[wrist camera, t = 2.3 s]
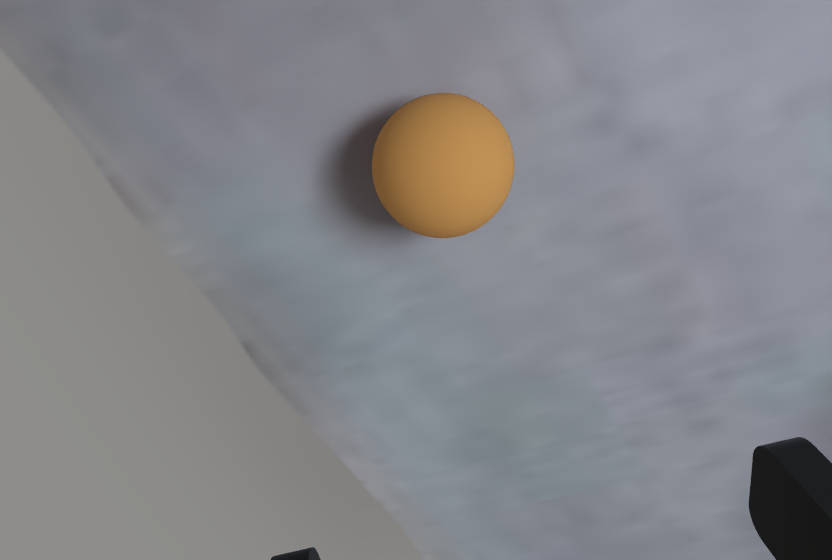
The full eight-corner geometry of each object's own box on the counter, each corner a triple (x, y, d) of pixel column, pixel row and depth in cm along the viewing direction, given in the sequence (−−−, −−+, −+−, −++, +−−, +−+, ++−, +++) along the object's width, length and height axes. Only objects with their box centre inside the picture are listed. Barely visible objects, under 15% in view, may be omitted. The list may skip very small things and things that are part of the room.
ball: (517, 106, 28) (556, 140, 22) (469, 222, 30) (493, 278, 25) (394, 62, 26) (403, 86, 21) (353, 187, 29) (353, 238, 23)
